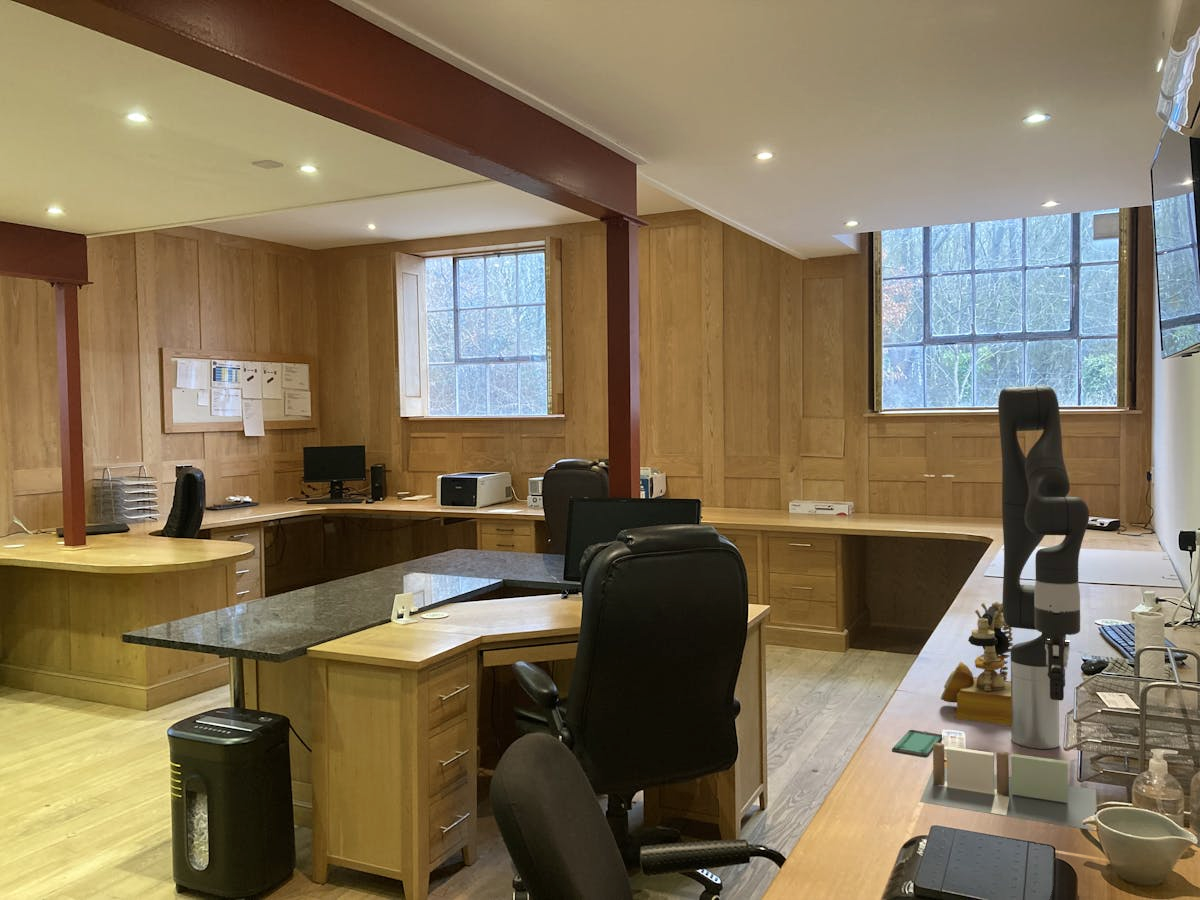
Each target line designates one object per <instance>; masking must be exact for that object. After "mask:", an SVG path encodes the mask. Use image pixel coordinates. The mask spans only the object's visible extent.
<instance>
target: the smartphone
mask: <svg viewBox="0 0 1200 900" xmlns="http://www.w3.org/2000/svg"><path fill="white" fill-rule="evenodd" d="M942 735H943V734H940V733H933V732H929V731H925V730H923V731H921V730H916V729H909V730H908V731H907V732H906V733H905V734H904V735H903V737H902V738H901V739H900V740H899V741H898V742H897V743H896V744H895V745H894V746H893V747H892V749H891V751H892V752H894V753H898V754H899V753H900V754H904V755H911V756H916V757H922V758H928V757H929V756H930V755H931V753H933V743H941V742H942V741H943V740H942ZM941 740H942V741H941Z"/></svg>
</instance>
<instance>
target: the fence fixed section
mask: <svg viewBox="0 0 1200 900" xmlns="http://www.w3.org/2000/svg"><path fill="white" fill-rule="evenodd" d="M1009 755H1010V754H1009V752H1007V751H1002V750H999V751H996V775H997V793H998V794H1000V795H1003V796H1007V795H1009V777H1010V776H1009V774H1010V773H1009V771H1010V769H1009V766H1010V764H1009V763H1010V761H1009ZM945 764H946V765H945ZM945 767H946V768H947V786H951V787H958V788H964V789H971V790H977V791H983V792H990V793H994V775H995V752H991V751H990V752H989V751H983V750H982V751H981V750H975V749H968V748H960V747H954V746H946V763H945V744H944V743H941V742H940V743H933V751H932V771H933V783H934V784H935V785H944V784H945Z"/></svg>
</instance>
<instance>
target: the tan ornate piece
mask: <svg viewBox="0 0 1200 900" xmlns="http://www.w3.org/2000/svg"><path fill="white" fill-rule="evenodd" d="M980 606H981V607H982V608H983V609H984V614H982V616H981V614H980V612H979V610H978V609H976V610H975V611H974V613H975V614H976V615H977V617H978V619H977V629H972V630H971V635H970V636H969V637H968V640H967V641H968V642H969V644H971V645H973V646H976V647H982V649H983V654H981V655H979V656H978V657H976V658H975V659H974V664H975V665H974V666H975V668H976V669H980V670H981V669H982V670H983V672H981V673H980V674H979V675H977V677H976V676H975V677H974V675H973V671H971V669H970V668H969V667H968V666H967V665H966V664H965V663H963V662H962V661H960V662H959V663H958V664H957V665H956V667H955V669H954V670H953V671H952V672H950V674H949V677H948V678H947V680H946V682H945V684H944V686H943V688H944V690H943V692H942V694H941V697H940V700H942V701H944V702H947V703H953V704H956V710H955V712H954V719H958V720H963V721H973V722H979V723H988V724H994V725H1001V726H1007V727H1011V680H1008V677H1007V676H1008V669H1009V668H1008V666H1005V665H1007V664H1008V663H1009V662H1008V661H1007V660H1006V661H1005V659H1008V658H1009V657H1011V654H1010V655H1009V654H1006V653H1011V648H1010V647H1012V646H1014V643H1013V642H1012V641H1013V640H1014V639H1013V637H1012V635H1013V632H1012V630H1013V627H1009V626H1007V625H1006V623H1005V621H1004V618H1003V608H1002V603H1001V602H997V601H995V602H991V606H989V607H988V608H987V607H986V605H985V603H984V602H982V603H981V604H980ZM1007 634H1008V635H1007ZM996 670H999V673H998V672H997V671H996Z"/></svg>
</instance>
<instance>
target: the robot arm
mask: <svg viewBox="0 0 1200 900" xmlns="http://www.w3.org/2000/svg"><path fill="white" fill-rule="evenodd" d="M997 406H998V408H997V409H998V426H999V434H1000V435H999V437H1000V448H1001V449H1000V450H1001V463H1002V464H1001V465H1002V466H1001V474H1002V475H1001V479H1002V480H1001V482H1002V483H1001V486H1002V487H1001V510H1002V511H1001V515H1002V516H1001V517H1002V520H1001V521H1002V533H1003V576H1002V577H1003V580H1002V581H1003V582H1002V603H1001V604H1002V608H1003V618H1004V621H1005V623H1006V625H1007V626H1009V627H1011V628H1012V629H1013V628H1015V629H1023V630H1024V629H1025V630H1032V631H1035V630H1036V631H1038V632H1040V633H1041V634H1040V635H1039V636H1038V637H1036V638H1034V639H1031V640H1028V641H1024V642H1018V643H1016V644H1013V646H1011V648H1010V649H1011V652H1010V681H1011V726H1010V729H1011V730H1010V732H1011V733H1010V734H1011V735H1010V737H1011V738H1010V739H1011V741H1012V742H1013V743H1015V744H1017V745H1020V746H1023V747H1027V748H1031V749H1038V750H1039V749H1040V750H1041V749H1042V750H1043V749H1044V750H1047V749H1055V748H1057V747H1059V746H1060V701H1063V700H1064V699H1065V698H1064V697H1065V696H1064V695H1065V692H1064V691H1065V690H1064V689H1065V687H1066V669H1067V668H1068V660H1069V654H1070V650H1071V649H1070V644H1071V643H1070V642H1071V641H1070V640H1067V637H1066V636H1072V635H1076V634H1079V633H1080V632H1081V593H1080V586H1079V560H1080V559H1079V557H1080V553H1081V549H1082V548H1081V547H1082V544H1083V543H1082V542H1083V540H1084V537H1085V534H1086V531H1087V528H1088V524H1089V522H1090V509H1089V507H1088V505H1087V504H1086V502H1085V501H1084V499H1082V498H1080V497H1078V496H1067V495H1069V492H1070V489H1071V484H1070V480H1069V477H1068V472H1067V468H1066V464H1065V460H1064V453H1063V441H1062V437H1063V436H1062V427H1061V426H1062V425H1061V415H1060V414H1061V413H1060V407H1059V399H1058V396H1057V393H1056V391H1055V390H1054V389H1053V388H1052V387H1051V386H1047V385H1033V386H1031V385H1029V386H1014V387H1013V386H1012V387H1010V386H1009V387H1004V388H1003V389H1002V390H1001V391H1000V393H999V395H998V403H997ZM1029 431H1034V432H1035V431H1042V433H1041V435H1040V437H1039V439H1037V441H1036V442H1035V443H1034V444H1033V445H1032V447H1031V448H1030V449H1029V452H1028V453H1027V455H1025V454H1024V452H1023V449H1022V448H1021V447H1022V446H1021V445H1020V443H1019V438H1018V432H1029ZM1046 536H1064V539H1063V541H1061V543H1059V544H1057V545H1053V546H1048V547H1044V548H1039V549H1038V550H1037V551H1036V553H1035V559H1034V560H1035V563H1034V564H1035V584H1034V585H1032V584H1031V585H1030V584H1021V575H1022V572H1023V569H1024V567H1025V565H1026V564H1027V562H1028V560H1029V559H1030V557H1031V555H1032V553H1033V552H1034V551H1035V550H1036V548H1037V547H1038V546H1039V544H1040V543H1041V542H1042V540H1043V539H1044V537H1046Z"/></svg>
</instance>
